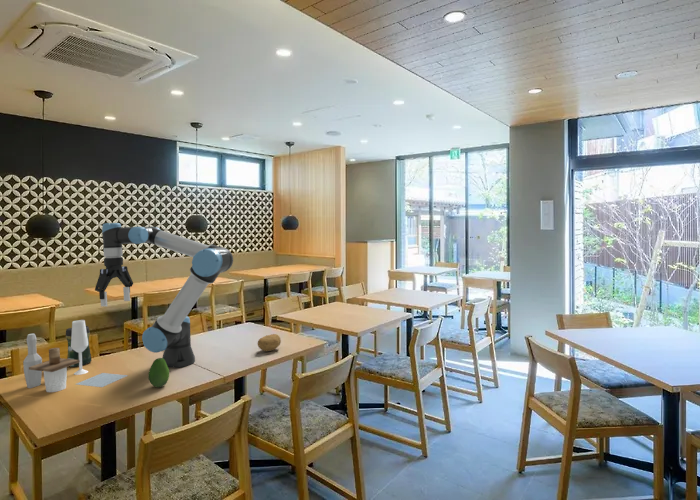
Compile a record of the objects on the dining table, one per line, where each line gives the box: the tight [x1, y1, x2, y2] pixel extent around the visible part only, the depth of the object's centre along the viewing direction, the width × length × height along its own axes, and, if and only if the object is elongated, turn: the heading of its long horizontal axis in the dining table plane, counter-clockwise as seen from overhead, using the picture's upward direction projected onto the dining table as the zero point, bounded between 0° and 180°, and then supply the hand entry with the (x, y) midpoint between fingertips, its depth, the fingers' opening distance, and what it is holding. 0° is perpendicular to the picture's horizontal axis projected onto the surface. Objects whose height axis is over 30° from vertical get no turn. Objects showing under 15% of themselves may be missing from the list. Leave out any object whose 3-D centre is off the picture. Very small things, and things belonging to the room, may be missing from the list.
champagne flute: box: [71, 319, 89, 376], centre depth 190 cm, size 7×7×24 cm
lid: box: [29, 347, 80, 372], centre depth 171 cm, size 12×12×7 cm
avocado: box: [147, 357, 170, 388], centre depth 174 cm, size 8×8×12 cm
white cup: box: [42, 367, 68, 393], centre depth 172 cm, size 8×8×10 cm
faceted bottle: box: [22, 333, 43, 389], centre depth 176 cm, size 6×6×22 cm
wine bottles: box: [65, 325, 92, 368], centre depth 203 cm, size 10×8×19 cm
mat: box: [76, 372, 128, 388], centre depth 182 cm, size 14×14×1 cm
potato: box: [257, 333, 282, 352], centre depth 223 cm, size 10×14×8 cm
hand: (116, 303), depth 192 cm, fingers open, 13 cm apart
